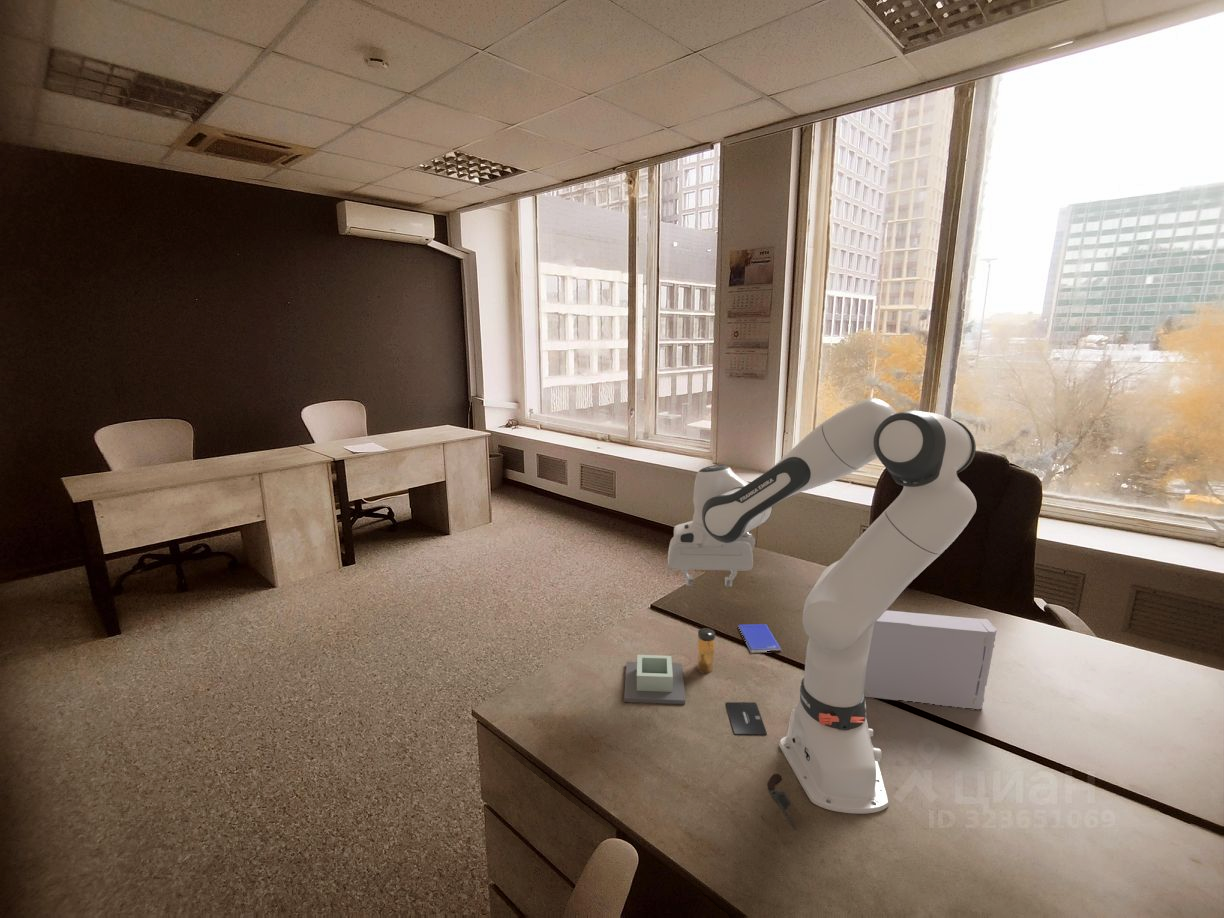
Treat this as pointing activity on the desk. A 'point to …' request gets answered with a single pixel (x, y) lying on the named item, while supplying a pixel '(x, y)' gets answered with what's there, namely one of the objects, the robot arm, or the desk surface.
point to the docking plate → (654, 680)
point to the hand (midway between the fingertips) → (708, 584)
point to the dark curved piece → (779, 795)
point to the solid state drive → (745, 718)
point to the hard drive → (758, 638)
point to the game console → (930, 659)
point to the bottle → (705, 650)
